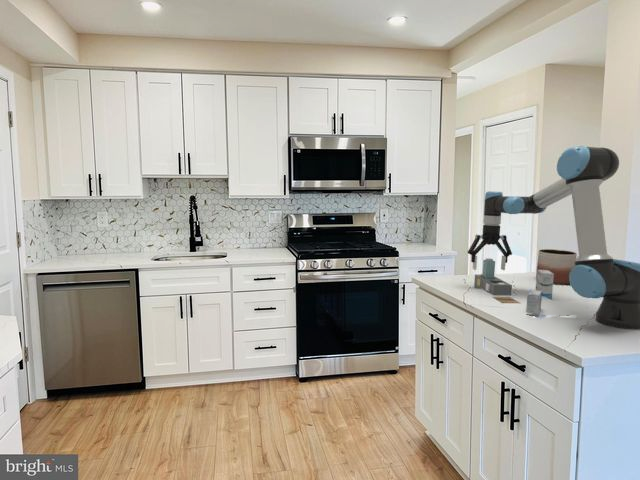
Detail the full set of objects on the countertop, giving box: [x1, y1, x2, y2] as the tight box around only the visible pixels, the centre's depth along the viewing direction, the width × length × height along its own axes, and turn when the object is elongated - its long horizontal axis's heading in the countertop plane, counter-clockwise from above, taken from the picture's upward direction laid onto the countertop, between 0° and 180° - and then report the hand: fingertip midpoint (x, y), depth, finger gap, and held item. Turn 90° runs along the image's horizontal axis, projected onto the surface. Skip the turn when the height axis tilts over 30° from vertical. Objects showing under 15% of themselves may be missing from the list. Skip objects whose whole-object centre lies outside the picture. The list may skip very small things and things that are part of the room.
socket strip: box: [473, 273, 513, 296], centre depth 204 cm, size 22×8×6 cm, turn 2°
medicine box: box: [525, 289, 543, 318], centre depth 170 cm, size 8×4×9 cm, turn 148°
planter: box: [535, 248, 578, 285], centre depth 230 cm, size 18×18×16 cm
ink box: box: [535, 269, 554, 300], centre depth 197 cm, size 8×5×12 cm, turn 168°
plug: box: [481, 257, 496, 279], centre depth 208 cm, size 4×4×13 cm
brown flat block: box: [492, 296, 521, 304], centre depth 186 cm, size 10×8×2 cm
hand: (488, 269), depth 208 cm, fingers open, 13 cm apart
